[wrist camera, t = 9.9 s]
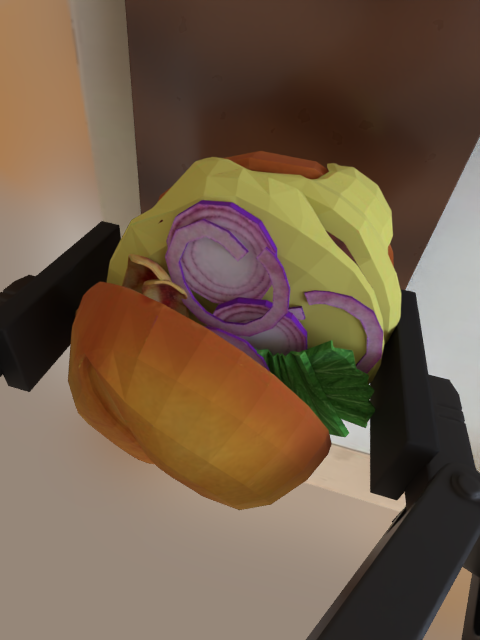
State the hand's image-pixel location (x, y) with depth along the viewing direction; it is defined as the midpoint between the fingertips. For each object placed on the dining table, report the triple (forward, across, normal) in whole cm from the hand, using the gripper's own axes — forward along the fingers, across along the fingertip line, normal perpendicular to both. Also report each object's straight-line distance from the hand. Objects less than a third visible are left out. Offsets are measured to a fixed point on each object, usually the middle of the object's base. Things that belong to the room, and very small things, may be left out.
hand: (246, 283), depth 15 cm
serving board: (+8, 0, 0) cm, 8 cm away
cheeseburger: (+1, 0, 0) cm, 1 cm away
